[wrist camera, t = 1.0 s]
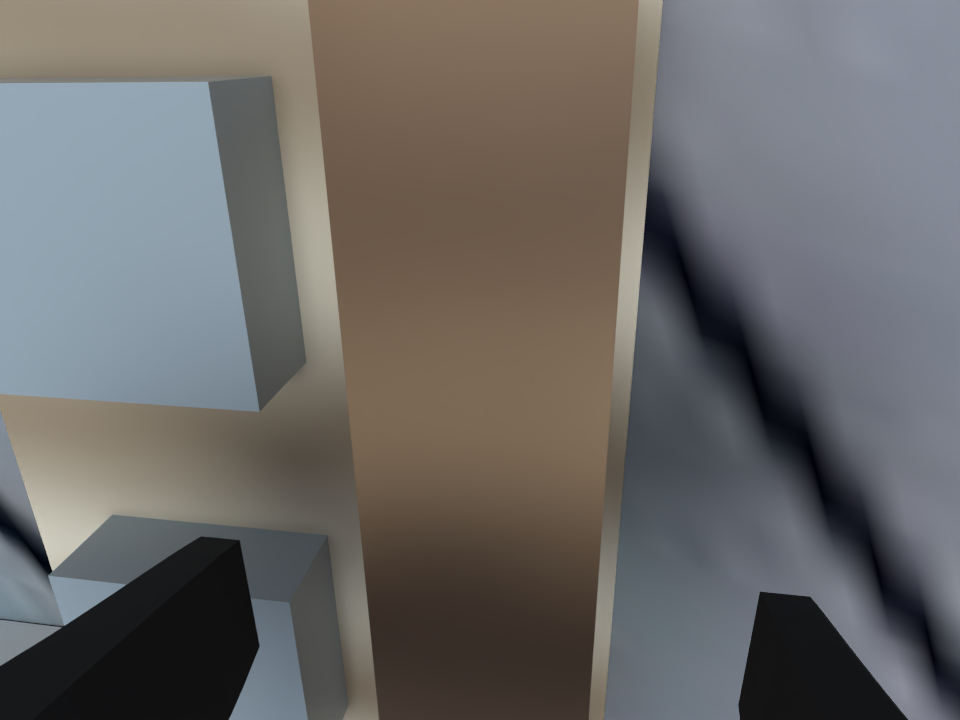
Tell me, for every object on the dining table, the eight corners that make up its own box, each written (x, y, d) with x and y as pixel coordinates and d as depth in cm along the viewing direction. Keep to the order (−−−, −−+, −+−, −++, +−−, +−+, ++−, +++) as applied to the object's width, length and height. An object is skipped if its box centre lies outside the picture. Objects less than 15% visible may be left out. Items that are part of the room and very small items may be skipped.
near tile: (306, 362, 13) (259, 411, 12) (67, 348, 14) (-12, 393, 12) (271, 75, 11) (207, 81, 10) (-6, 77, 12) (-114, 83, 10)
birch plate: (596, 719, 20) (595, 825, 17) (171, 664, 22) (111, 751, 19) (661, -127, 12) (677, -178, 9) (-22, -93, 14) (-173, -127, 11)
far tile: (348, 705, 17) (317, 783, 15) (156, 680, 18) (105, 751, 16) (327, 535, 15) (289, 602, 13) (112, 514, 16) (48, 575, 14)
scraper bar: (578, 765, 17) (568, 1000, 12) (452, 748, 17) (403, 969, 13) (627, -3, 10) (641, -35, 6) (421, 2, 11) (304, -24, 6)
